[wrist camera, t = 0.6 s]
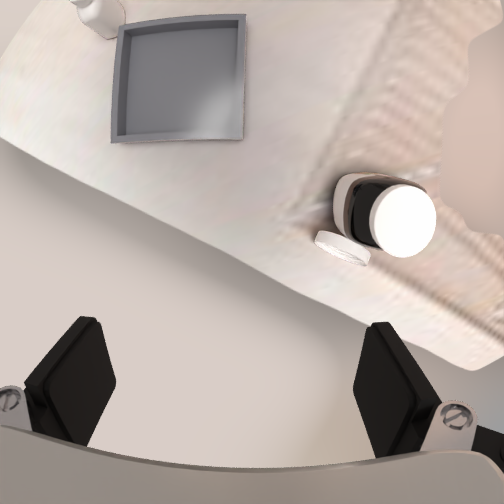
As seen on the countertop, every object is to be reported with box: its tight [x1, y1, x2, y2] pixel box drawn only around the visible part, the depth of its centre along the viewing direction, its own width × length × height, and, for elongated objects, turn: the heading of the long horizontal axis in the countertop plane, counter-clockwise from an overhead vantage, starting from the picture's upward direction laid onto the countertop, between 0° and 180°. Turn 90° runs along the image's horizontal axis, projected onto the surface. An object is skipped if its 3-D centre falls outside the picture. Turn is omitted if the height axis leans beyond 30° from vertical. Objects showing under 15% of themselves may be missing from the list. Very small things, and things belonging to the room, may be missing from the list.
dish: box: [111, 14, 247, 144], centre depth 32 cm, size 15×15×4 cm
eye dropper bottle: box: [69, 0, 125, 39], centre depth 24 cm, size 4×6×12 cm
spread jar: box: [314, 172, 436, 266], centre depth 33 cm, size 12×11×12 cm
